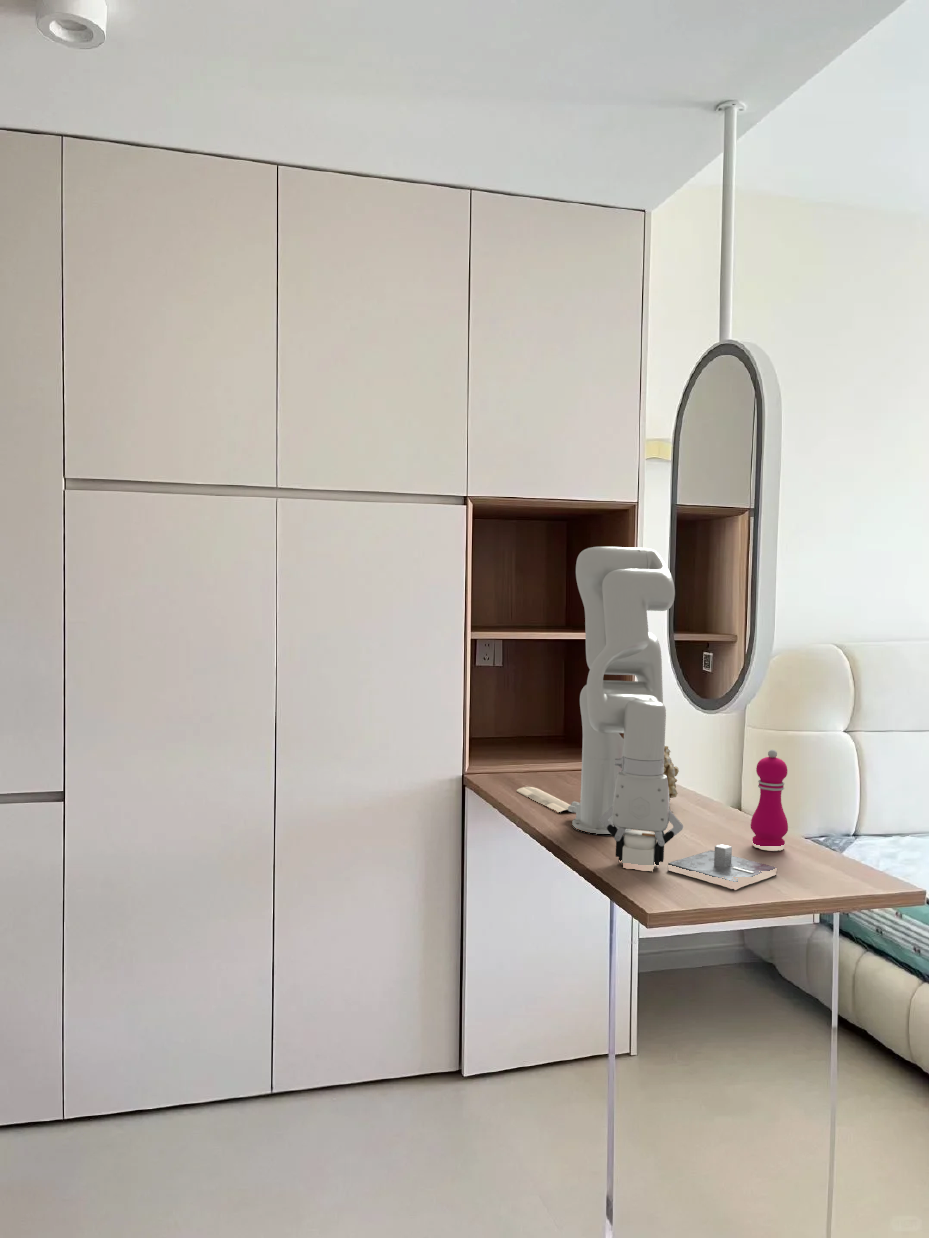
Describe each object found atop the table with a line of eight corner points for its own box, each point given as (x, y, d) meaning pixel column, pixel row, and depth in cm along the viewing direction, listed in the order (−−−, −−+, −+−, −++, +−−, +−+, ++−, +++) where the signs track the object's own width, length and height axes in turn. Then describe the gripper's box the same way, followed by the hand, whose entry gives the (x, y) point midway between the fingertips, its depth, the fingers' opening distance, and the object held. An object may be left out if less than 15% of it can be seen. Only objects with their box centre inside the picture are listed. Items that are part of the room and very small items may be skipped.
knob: (620, 868, 180) (621, 835, 179) (625, 860, 185) (626, 827, 185) (653, 872, 178) (655, 838, 178) (657, 863, 184) (658, 830, 183)
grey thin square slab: (667, 870, 179) (668, 844, 179) (710, 857, 189) (711, 832, 189) (734, 890, 169) (736, 862, 169) (776, 875, 179) (778, 848, 178)
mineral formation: (669, 799, 238) (671, 738, 238) (686, 813, 225) (689, 748, 224) (636, 799, 238) (639, 738, 237) (652, 812, 224) (655, 747, 224)
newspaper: (582, 815, 222) (582, 808, 222) (554, 817, 220) (554, 809, 220) (538, 793, 244) (538, 786, 244) (512, 794, 242) (512, 787, 242)
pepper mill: (758, 840, 203) (762, 745, 202) (792, 847, 198) (797, 749, 197) (743, 847, 197) (748, 749, 196) (778, 854, 192) (783, 754, 192)
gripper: (593, 766, 180) (589, 863, 181) (689, 774, 175) (685, 874, 176) (600, 759, 187) (596, 852, 188) (692, 767, 182) (688, 863, 183)
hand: (639, 862), depth 182 cm, fingers closed on knob, 6 cm apart
